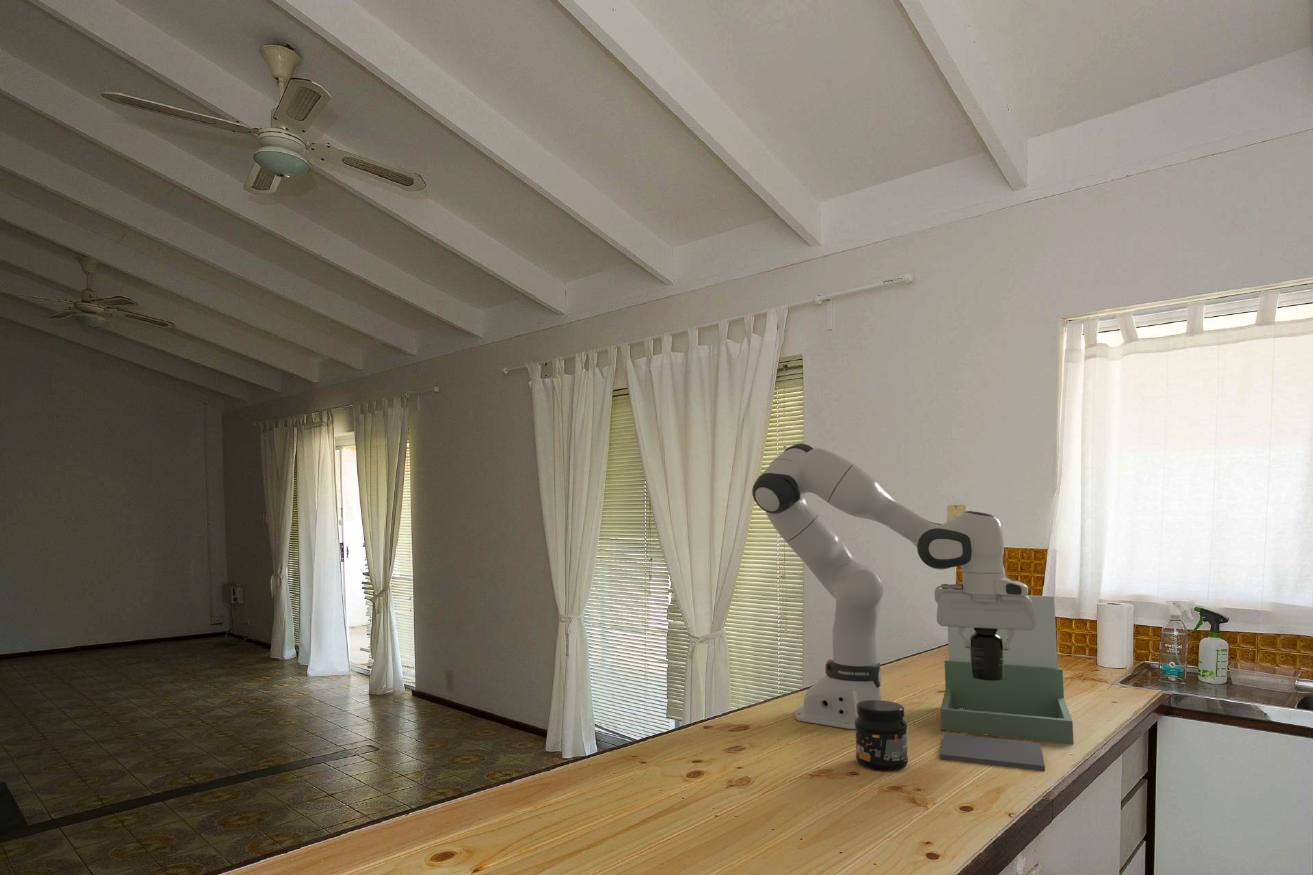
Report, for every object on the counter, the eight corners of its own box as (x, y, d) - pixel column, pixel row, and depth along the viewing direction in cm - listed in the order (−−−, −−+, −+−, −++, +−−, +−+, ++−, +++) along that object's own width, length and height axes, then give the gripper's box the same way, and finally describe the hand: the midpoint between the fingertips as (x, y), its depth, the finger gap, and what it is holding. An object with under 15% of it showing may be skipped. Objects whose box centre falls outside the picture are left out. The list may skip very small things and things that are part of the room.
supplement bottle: (1010, 681, 168) (1007, 624, 169) (978, 681, 168) (976, 624, 169) (996, 674, 174) (994, 619, 175) (966, 674, 174) (963, 620, 175)
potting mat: (940, 758, 165) (940, 753, 166) (944, 737, 180) (944, 733, 180) (1045, 770, 158) (1044, 765, 158) (1040, 748, 172) (1040, 743, 172)
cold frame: (941, 730, 186) (936, 603, 189) (946, 705, 209) (942, 592, 211) (1073, 743, 175) (1066, 608, 178) (1064, 716, 198) (1058, 596, 200)
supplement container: (849, 756, 167) (847, 699, 168) (897, 755, 168) (895, 698, 169) (865, 773, 157) (863, 712, 158) (916, 772, 158) (914, 711, 159)
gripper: (933, 584, 173) (935, 648, 172) (1035, 587, 165) (1038, 654, 164) (935, 582, 179) (937, 643, 178) (1033, 584, 171) (1037, 649, 170)
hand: (986, 648), depth 171 cm, fingers closed on supplement bottle, 6 cm apart
